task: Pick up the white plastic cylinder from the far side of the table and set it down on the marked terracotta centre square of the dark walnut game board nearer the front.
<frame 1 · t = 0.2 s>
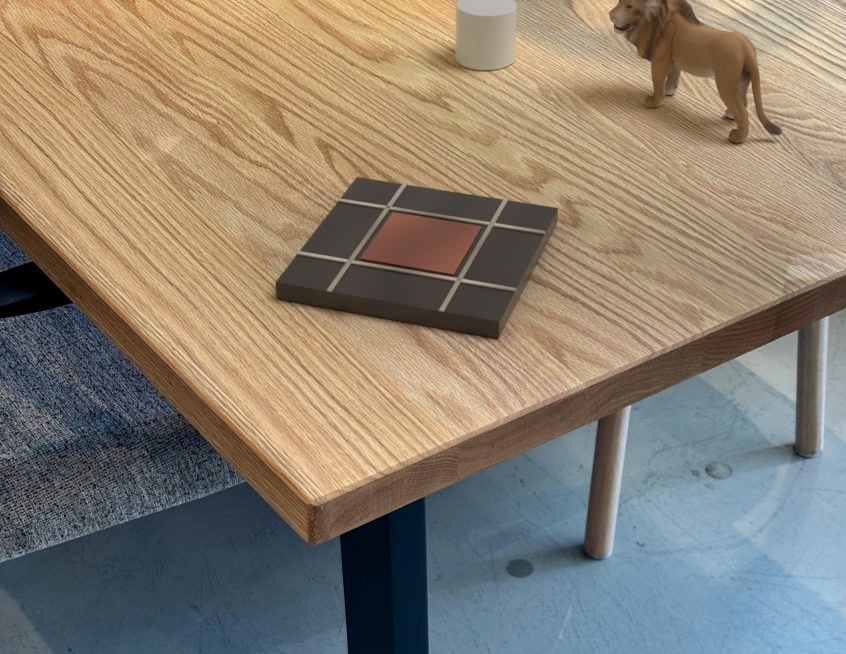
lion figurine: (684, 114, 99), on the table
white plastic cylinder: (485, 58, 107), on the table
board: (422, 260, 84), on the table
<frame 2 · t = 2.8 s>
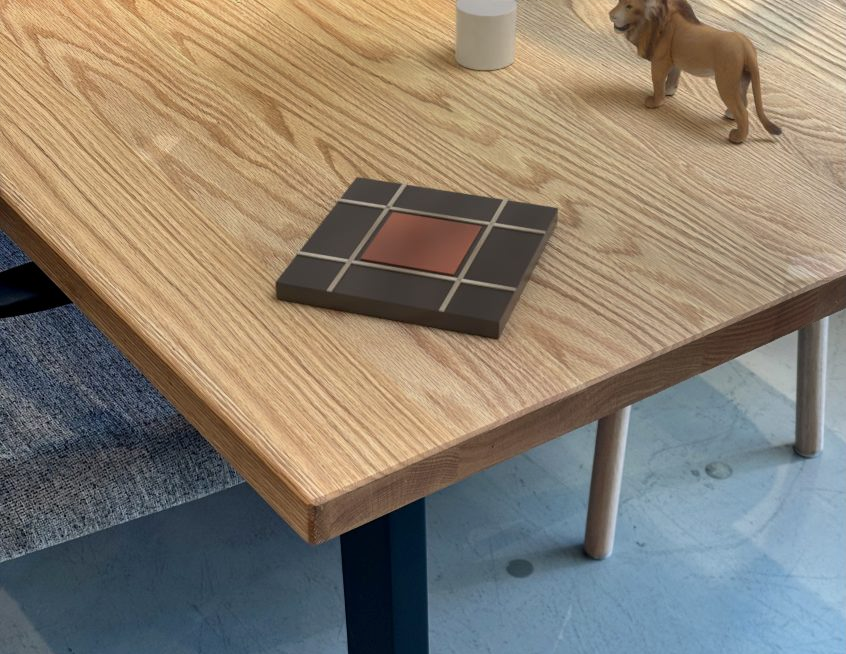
nothing on the table moved.
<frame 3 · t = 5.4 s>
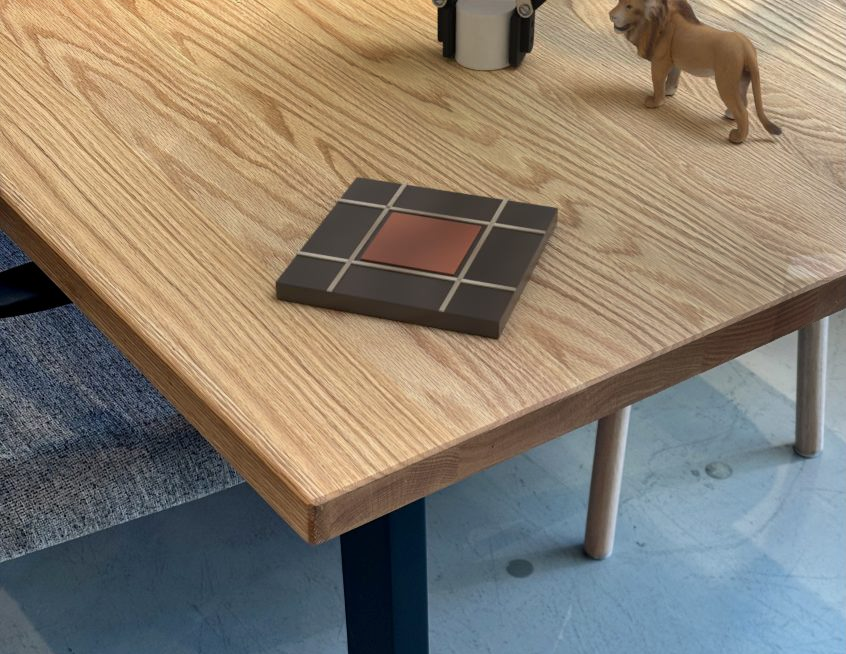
hand: (485, 53, 106), 0 cm above the table, tool pointing down, fingers closed on white plastic cylinder, 4 cm apart
white plastic cylinder: (484, 58, 107), on the table, touching gripper
everything else where it was.
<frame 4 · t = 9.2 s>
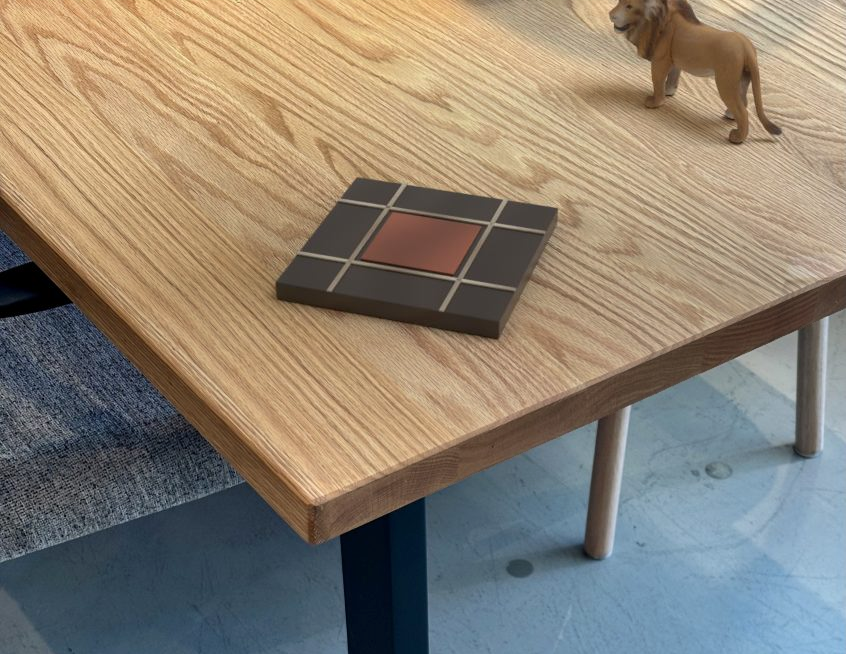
when the fingers open (2 cm above the table, at t = 13.2 s): white plastic cylinder stays where it is, resting on board.
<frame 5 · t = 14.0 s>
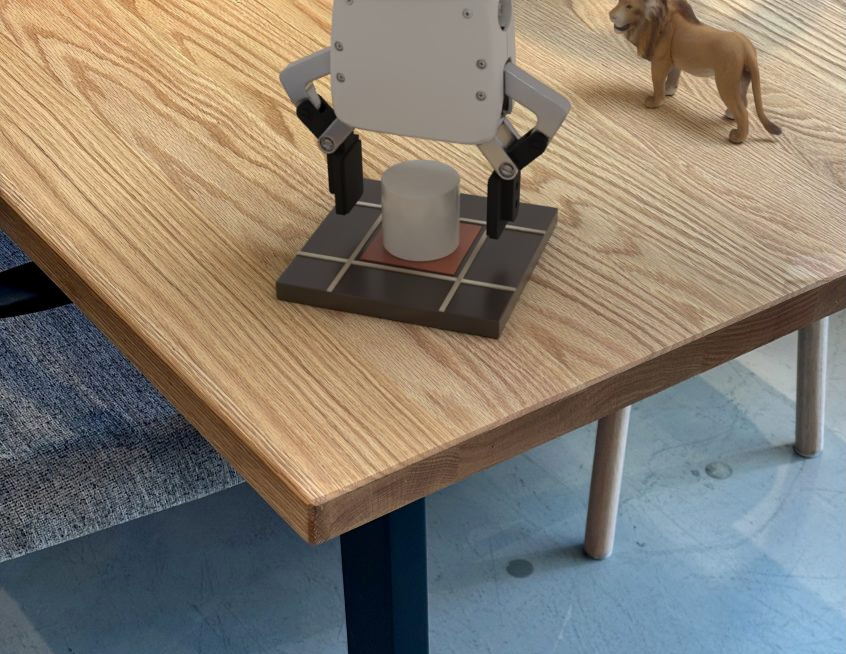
hand: (423, 216, 81), 3 cm above the table, tool pointing down, fingers open, 9 cm apart
white plastic cylinder: (421, 242, 83), point 1 cm above the table, touching board
everything else where it was.
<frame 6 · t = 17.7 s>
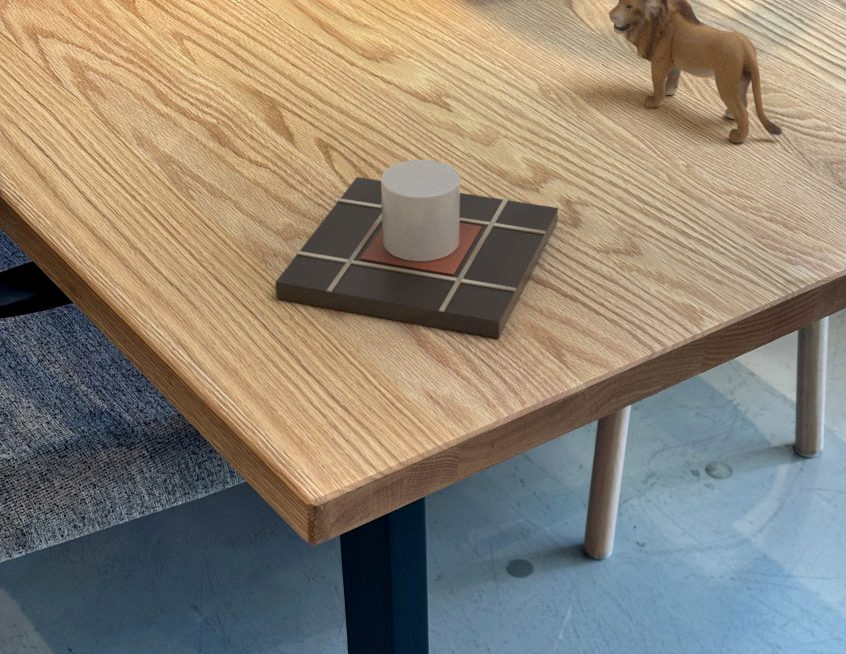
nothing on the table moved.
at the end: white plastic cylinder 0.1 cm off-centre on the board, point 1.3 cm above the board's base; white plastic cylinder tilted 0°; the gripper is holding nothing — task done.
